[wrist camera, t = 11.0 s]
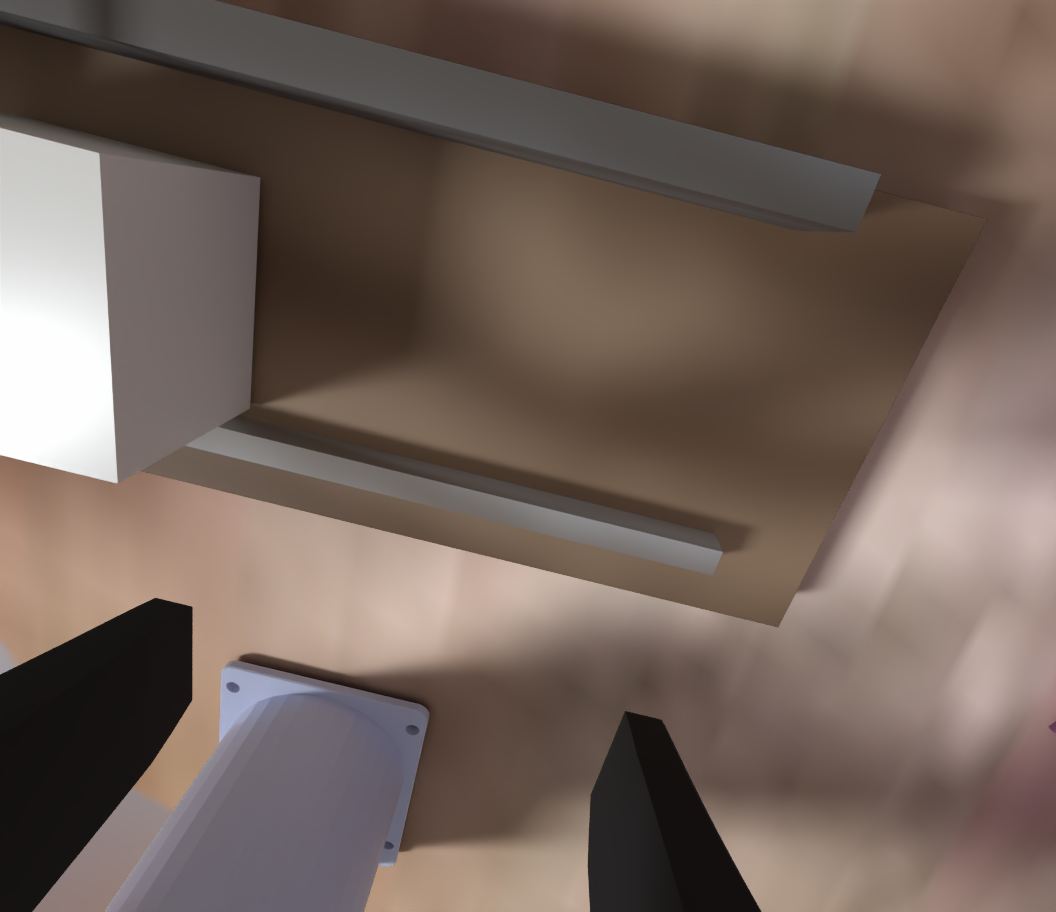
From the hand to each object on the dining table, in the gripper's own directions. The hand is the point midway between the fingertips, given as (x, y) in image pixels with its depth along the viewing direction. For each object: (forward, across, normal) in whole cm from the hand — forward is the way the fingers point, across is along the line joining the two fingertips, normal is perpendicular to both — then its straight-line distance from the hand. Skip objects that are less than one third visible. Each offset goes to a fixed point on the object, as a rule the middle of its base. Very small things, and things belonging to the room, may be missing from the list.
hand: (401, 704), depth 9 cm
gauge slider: (+8, +10, -5) cm, 14 cm away
